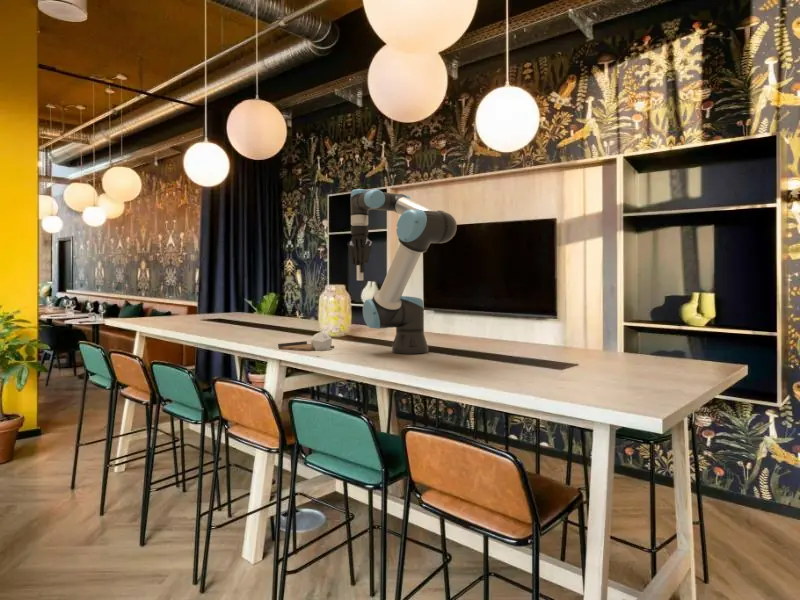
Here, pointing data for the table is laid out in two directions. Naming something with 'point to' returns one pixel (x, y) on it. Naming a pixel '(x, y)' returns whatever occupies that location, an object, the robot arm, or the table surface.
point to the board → (297, 346)
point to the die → (321, 341)
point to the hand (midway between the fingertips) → (360, 280)
